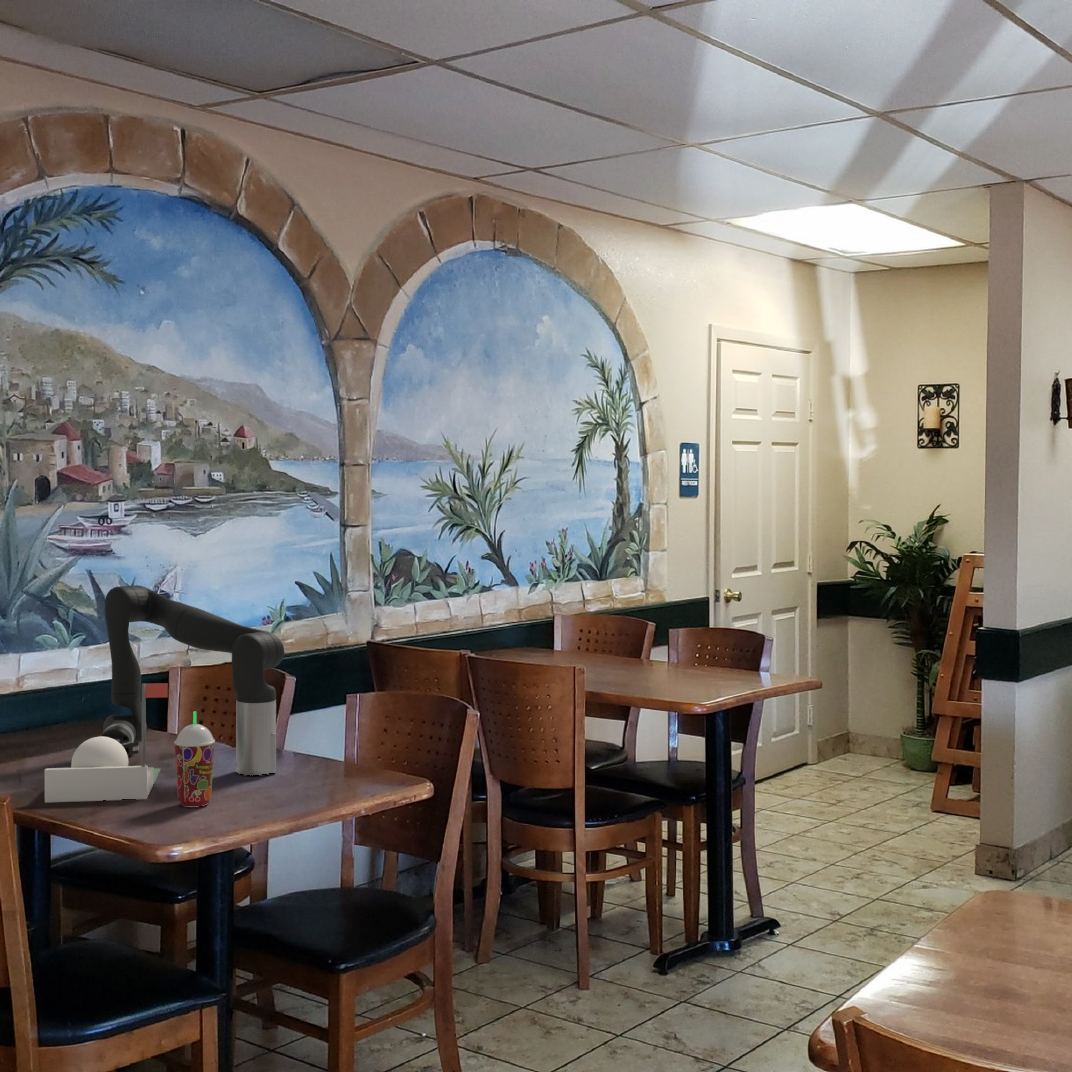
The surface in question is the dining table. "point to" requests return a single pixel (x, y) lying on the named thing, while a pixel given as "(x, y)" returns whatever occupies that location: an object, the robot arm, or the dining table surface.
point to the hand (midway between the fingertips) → (105, 756)
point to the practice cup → (106, 772)
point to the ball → (99, 753)
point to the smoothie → (194, 764)
